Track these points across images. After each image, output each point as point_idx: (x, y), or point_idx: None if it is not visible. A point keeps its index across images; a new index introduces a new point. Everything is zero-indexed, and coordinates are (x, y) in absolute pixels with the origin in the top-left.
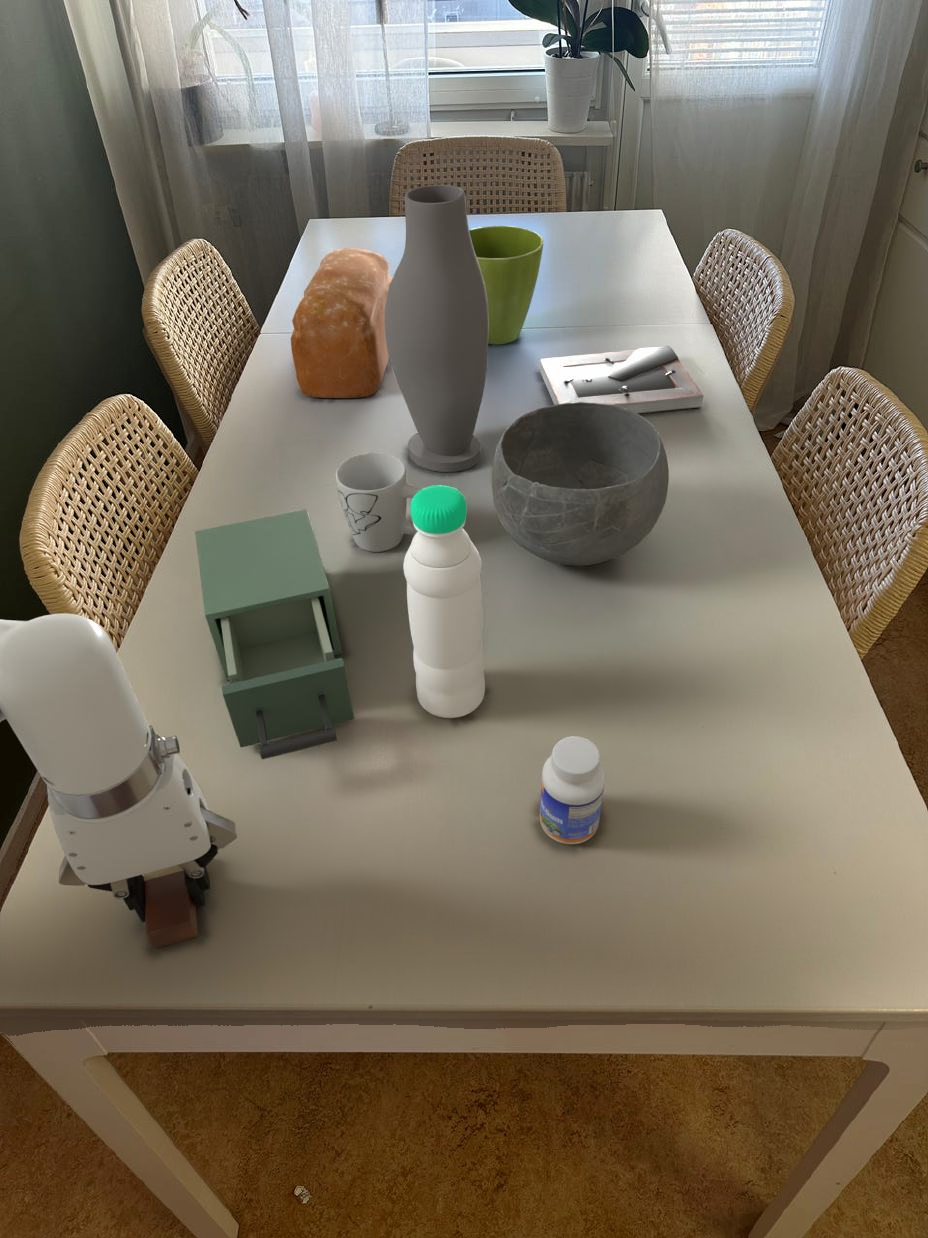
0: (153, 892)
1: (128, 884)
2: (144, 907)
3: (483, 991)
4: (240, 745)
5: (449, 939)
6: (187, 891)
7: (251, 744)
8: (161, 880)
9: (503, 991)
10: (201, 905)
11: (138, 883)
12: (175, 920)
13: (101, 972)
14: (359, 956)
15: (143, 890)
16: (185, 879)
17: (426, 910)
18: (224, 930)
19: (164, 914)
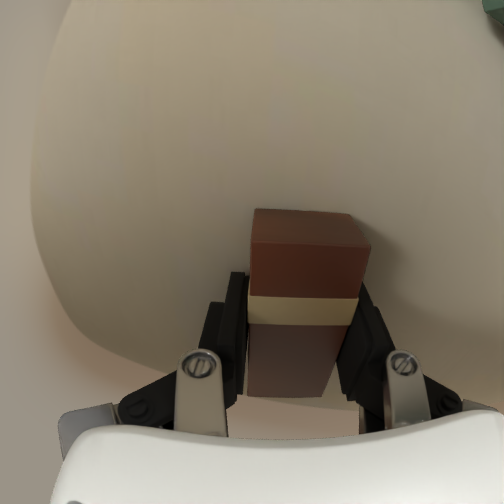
0: (267, 350)
1: (226, 417)
2: (245, 361)
3: None
4: (490, 11)
5: (490, 377)
6: (334, 362)
7: (501, 22)
8: (289, 333)
9: (479, 402)
10: None
11: (242, 371)
12: (299, 394)
13: (174, 355)
14: None
15: (245, 337)
16: (347, 391)
17: (500, 358)
18: None
19: (282, 382)
